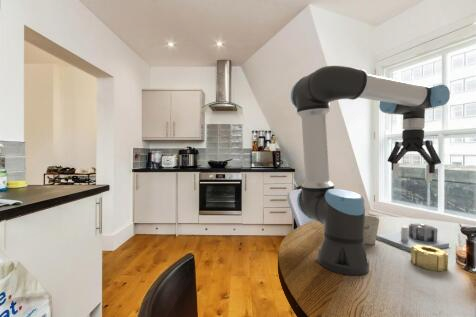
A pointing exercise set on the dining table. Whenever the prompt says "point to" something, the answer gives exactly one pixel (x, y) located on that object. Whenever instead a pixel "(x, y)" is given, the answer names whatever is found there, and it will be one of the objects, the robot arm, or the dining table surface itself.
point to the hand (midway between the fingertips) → (411, 179)
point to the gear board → (411, 242)
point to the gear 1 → (423, 232)
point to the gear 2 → (429, 257)
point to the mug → (370, 229)
